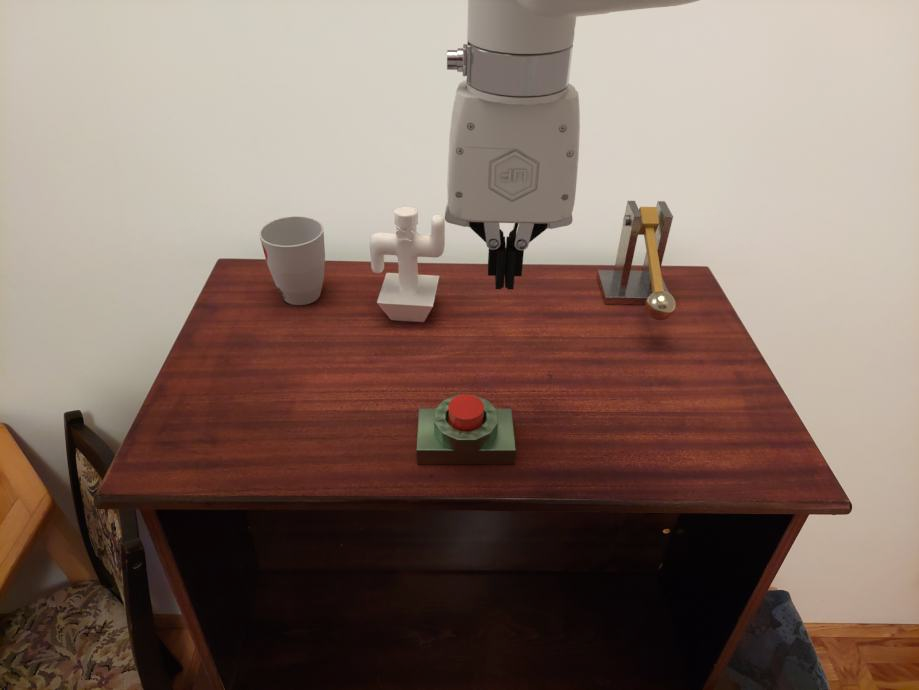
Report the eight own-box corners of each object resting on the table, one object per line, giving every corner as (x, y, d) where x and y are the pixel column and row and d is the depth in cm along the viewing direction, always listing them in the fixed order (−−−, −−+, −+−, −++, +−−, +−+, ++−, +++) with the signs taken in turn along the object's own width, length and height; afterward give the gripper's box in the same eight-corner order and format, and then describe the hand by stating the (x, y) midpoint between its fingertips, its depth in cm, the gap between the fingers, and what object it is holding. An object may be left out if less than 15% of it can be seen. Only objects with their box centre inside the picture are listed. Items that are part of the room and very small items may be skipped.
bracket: (669, 305, 89) (691, 221, 81) (604, 304, 89) (620, 220, 81) (657, 277, 94) (677, 196, 86) (596, 276, 94) (610, 195, 86)
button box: (510, 421, 71) (512, 394, 68) (514, 466, 66) (517, 439, 63) (419, 420, 71) (418, 394, 68) (416, 466, 66) (415, 439, 63)
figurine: (380, 294, 90) (372, 194, 80) (447, 298, 89) (447, 198, 80) (370, 325, 84) (360, 222, 75) (441, 330, 84) (441, 226, 74)
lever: (672, 325, 79) (682, 310, 76) (643, 325, 79) (651, 310, 76) (655, 221, 87) (663, 203, 84) (629, 220, 87) (635, 203, 84)
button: (482, 406, 67) (483, 394, 66) (484, 431, 65) (484, 419, 64) (448, 406, 67) (448, 394, 66) (448, 431, 65) (448, 419, 63)
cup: (286, 276, 93) (275, 213, 87) (340, 282, 92) (332, 219, 86) (262, 307, 87) (248, 242, 81) (319, 315, 86) (309, 249, 80)
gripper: (411, 82, 44) (418, 303, 55) (630, 86, 44) (592, 307, 55) (419, 52, 50) (424, 257, 61) (612, 56, 50) (581, 261, 61)
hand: (503, 280), depth 58 cm, fingers closed
